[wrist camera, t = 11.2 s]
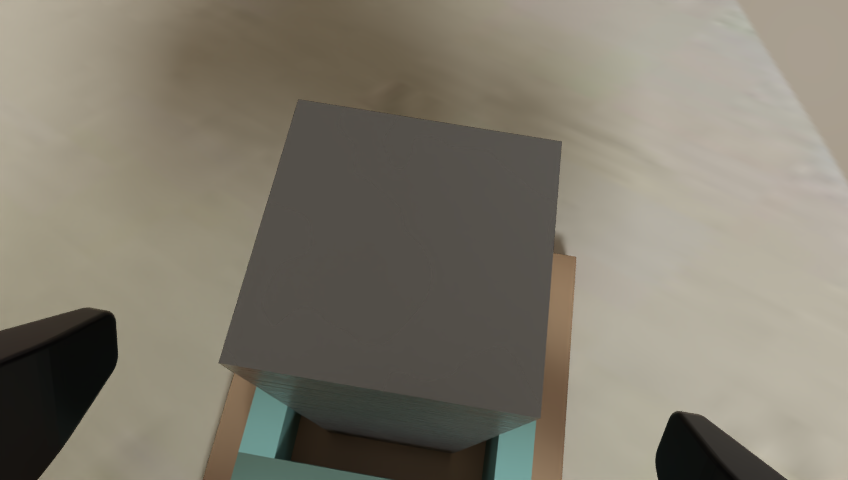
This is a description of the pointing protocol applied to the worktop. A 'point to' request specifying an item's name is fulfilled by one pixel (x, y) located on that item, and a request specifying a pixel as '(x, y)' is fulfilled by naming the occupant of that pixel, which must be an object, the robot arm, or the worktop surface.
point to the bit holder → (387, 462)
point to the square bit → (401, 278)
